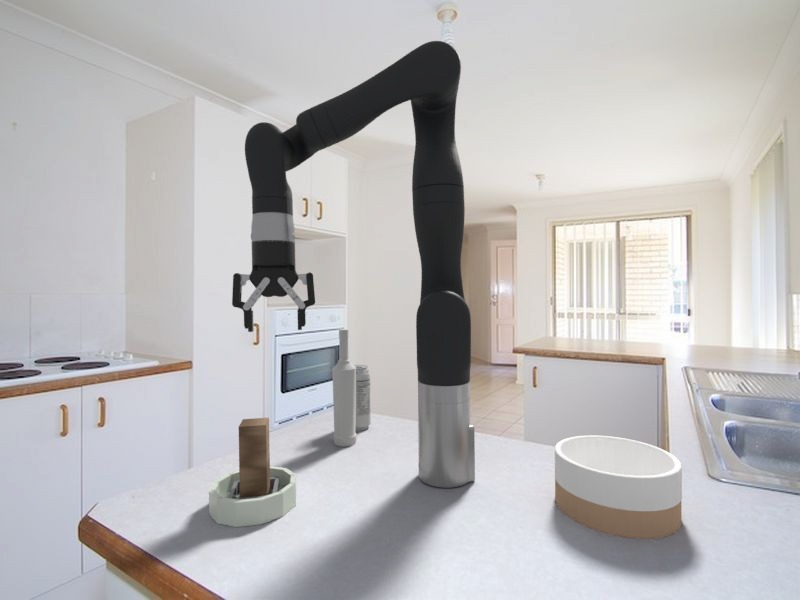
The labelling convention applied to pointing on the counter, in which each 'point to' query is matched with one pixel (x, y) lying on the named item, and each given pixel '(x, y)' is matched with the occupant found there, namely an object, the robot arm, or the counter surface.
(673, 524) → the bowl
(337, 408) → the bottle
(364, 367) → the energy drink can
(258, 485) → the brown wooden block
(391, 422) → the counter surface
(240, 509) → the pale green faceted dish
